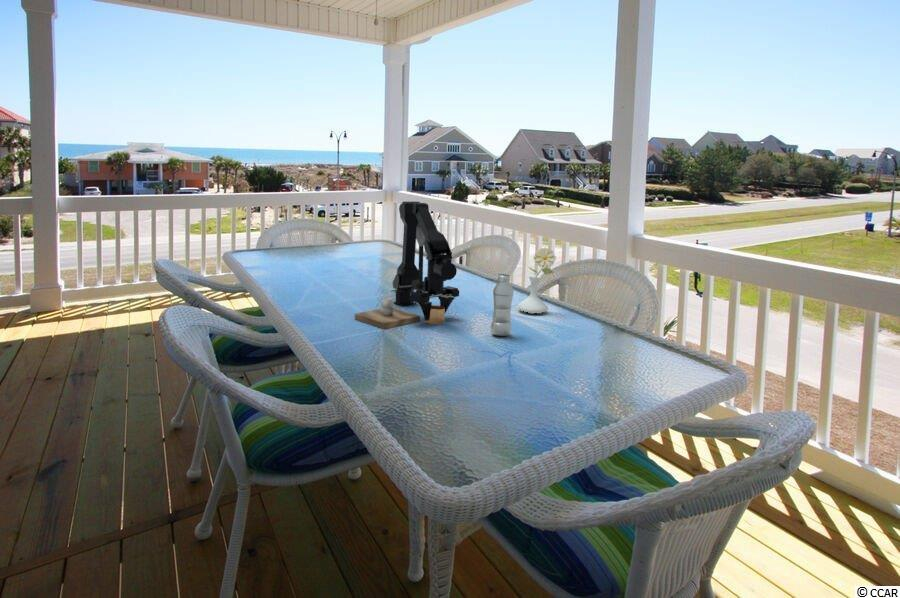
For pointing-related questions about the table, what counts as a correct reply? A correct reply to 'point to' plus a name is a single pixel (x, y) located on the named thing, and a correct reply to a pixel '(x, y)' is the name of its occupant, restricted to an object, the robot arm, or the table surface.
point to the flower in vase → (533, 302)
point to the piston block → (387, 316)
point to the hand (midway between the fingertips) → (434, 318)
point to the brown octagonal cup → (436, 315)
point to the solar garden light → (420, 250)
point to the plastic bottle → (502, 306)
